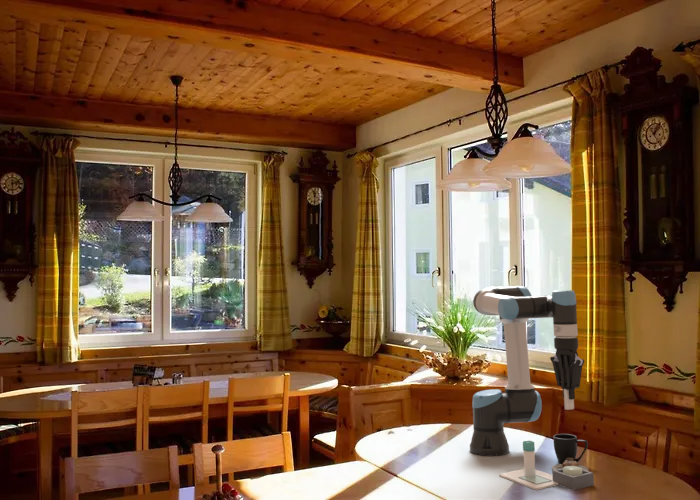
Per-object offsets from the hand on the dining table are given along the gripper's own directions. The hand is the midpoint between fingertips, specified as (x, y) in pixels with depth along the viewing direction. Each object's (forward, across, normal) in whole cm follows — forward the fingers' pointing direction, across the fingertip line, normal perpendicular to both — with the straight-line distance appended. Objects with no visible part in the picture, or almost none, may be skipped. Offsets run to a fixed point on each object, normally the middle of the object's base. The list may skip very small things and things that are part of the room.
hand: (569, 408), depth 213 cm
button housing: (+24, 0, 0) cm, 24 cm away
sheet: (+24, -11, -7) cm, 28 cm away
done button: (+23, 0, 0) cm, 23 cm away
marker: (+24, -12, -8) cm, 28 cm away
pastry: (+25, -11, +10) cm, 29 cm away
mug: (+25, -17, +17) cm, 34 cm away
